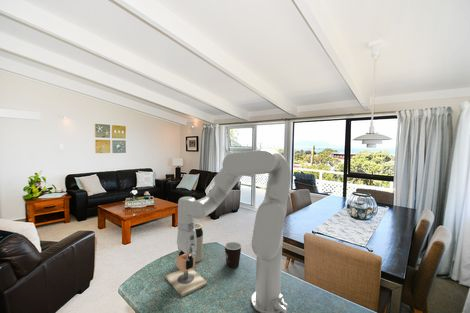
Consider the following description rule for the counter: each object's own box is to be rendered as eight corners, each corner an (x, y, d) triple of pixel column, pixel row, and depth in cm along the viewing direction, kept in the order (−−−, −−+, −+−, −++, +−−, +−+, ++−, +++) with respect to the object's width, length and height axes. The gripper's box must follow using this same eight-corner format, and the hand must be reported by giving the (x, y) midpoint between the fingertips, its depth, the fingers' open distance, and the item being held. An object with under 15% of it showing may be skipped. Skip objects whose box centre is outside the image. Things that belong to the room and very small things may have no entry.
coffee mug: (241, 269, 104) (241, 250, 104) (223, 269, 105) (224, 249, 104) (240, 257, 116) (241, 239, 116) (225, 257, 116) (225, 239, 116)
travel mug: (203, 255, 118) (203, 223, 117) (201, 262, 110) (202, 228, 109) (188, 255, 118) (189, 223, 117) (186, 262, 110) (186, 228, 109)
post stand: (207, 284, 93) (207, 268, 92) (182, 297, 85) (182, 279, 84) (188, 268, 105) (189, 254, 104) (165, 277, 97) (165, 262, 96)
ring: (195, 267, 94) (195, 257, 94) (182, 272, 90) (182, 262, 90) (188, 261, 99) (188, 252, 98) (176, 266, 95) (176, 256, 94)
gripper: (204, 229, 90) (203, 270, 90) (184, 218, 102) (184, 254, 103) (188, 233, 85) (187, 277, 85) (170, 221, 97) (169, 259, 98)
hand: (185, 264), depth 94 cm, fingers closed on ring, 6 cm apart
